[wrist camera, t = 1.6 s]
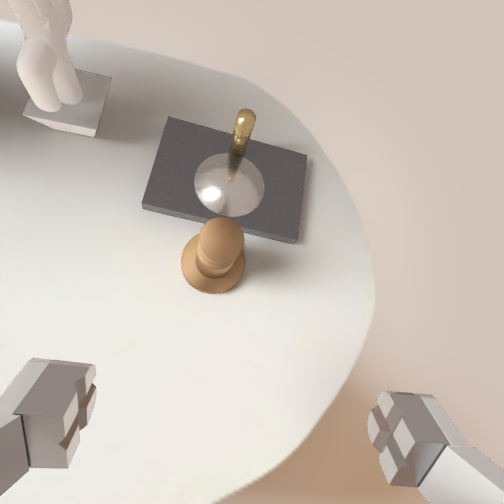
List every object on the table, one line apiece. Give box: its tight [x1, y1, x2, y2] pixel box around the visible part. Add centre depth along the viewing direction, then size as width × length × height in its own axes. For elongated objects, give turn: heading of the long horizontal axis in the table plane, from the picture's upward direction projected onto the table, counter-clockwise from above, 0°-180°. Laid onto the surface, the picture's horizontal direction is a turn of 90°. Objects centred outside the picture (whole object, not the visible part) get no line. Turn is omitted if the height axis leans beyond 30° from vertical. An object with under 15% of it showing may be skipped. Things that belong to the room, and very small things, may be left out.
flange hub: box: [181, 217, 245, 294], centre depth 33 cm, size 7×7×8 cm
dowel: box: [229, 109, 256, 156], centre depth 37 cm, size 2×2×6 cm
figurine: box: [7, 0, 112, 137], centre depth 31 cm, size 7×9×15 cm
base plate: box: [142, 116, 307, 244], centre depth 39 cm, size 18×12×2 cm, turn 81°
